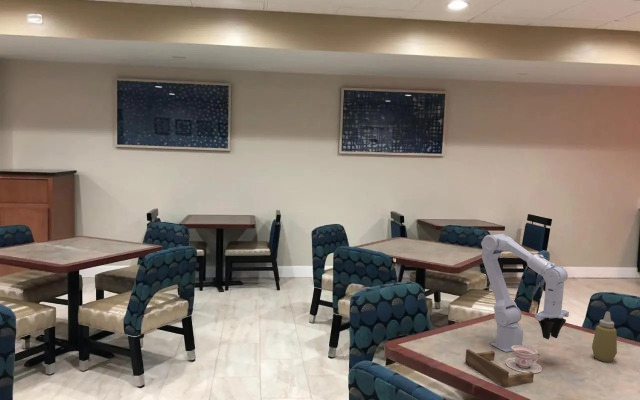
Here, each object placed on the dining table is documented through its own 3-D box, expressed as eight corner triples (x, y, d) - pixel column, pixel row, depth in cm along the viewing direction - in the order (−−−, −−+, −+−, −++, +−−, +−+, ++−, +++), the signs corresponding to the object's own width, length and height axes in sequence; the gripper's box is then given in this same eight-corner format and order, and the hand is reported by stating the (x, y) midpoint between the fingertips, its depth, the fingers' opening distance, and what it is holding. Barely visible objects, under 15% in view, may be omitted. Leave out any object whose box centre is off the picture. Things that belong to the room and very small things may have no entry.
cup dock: (491, 358, 169) (492, 345, 168) (533, 381, 152) (534, 367, 151) (465, 363, 164) (466, 349, 163) (504, 387, 147) (505, 372, 147)
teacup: (504, 369, 161) (506, 352, 160) (505, 356, 172) (506, 340, 171) (542, 377, 156) (544, 359, 155) (540, 363, 167) (542, 346, 167)
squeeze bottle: (612, 356, 176) (617, 310, 174) (618, 365, 168) (623, 316, 166) (588, 353, 178) (593, 307, 177) (593, 361, 171) (598, 313, 169)
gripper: (548, 305, 159) (544, 344, 160) (577, 302, 164) (574, 339, 166) (531, 299, 165) (528, 336, 166) (560, 296, 171) (557, 332, 172)
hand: (550, 337), depth 166 cm, fingers open, 3 cm apart
